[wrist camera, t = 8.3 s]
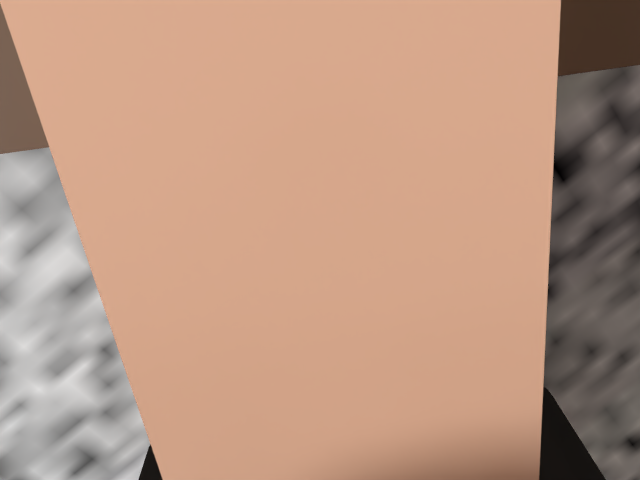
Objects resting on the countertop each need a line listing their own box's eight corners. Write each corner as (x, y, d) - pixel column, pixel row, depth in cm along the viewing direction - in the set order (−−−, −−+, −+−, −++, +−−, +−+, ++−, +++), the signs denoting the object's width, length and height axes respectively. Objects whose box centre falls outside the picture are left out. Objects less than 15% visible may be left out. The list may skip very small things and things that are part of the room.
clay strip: (423, -86, 8) (568, -176, 4) (455, 621, 14) (521, 875, 10) (142, -45, 8) (-32, -88, 4) (303, 640, 14) (306, 900, 10)
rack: (534, -252, 10) (763, -491, 5) (517, 549, 19) (595, 746, 14) (8, -172, 10) (-260, -329, 5) (233, 584, 19) (210, 790, 14)
